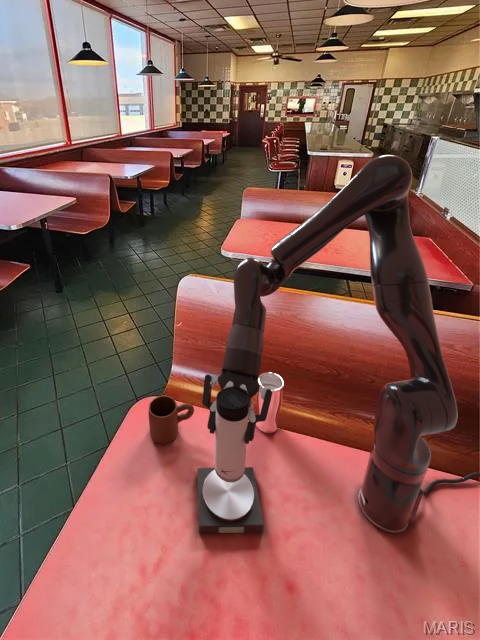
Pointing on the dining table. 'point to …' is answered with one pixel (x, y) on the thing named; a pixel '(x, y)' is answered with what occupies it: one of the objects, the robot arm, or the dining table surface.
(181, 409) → the mug
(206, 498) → the scale pan
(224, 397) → the travel mug
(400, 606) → the dining table surface
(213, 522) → the scale
